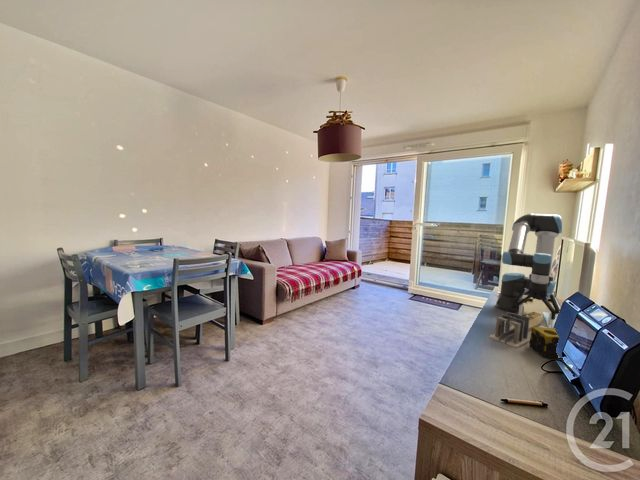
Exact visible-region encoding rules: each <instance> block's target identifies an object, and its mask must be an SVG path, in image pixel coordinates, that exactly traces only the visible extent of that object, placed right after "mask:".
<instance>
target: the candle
mask: <svg viewBox="0 0 640 480" xmlns="http://www.w3.org/2000/svg"><path fill="white" fill-rule="evenodd" d="M544 327H545V326H544ZM544 327H532V329H531V337H530V341H529V342H528V343H529V348H530V349H531V350H533V351H534V352H535V353H537V354H538V355H539V356H540V357H542V358H543V359H557V358H558V355H557V353H556V347H557V343H558V340H559V336H558V334H557V332H556V330H555V329H556V328H555V327H547V328H544Z"/></svg>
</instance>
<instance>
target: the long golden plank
mask: <svg viewBox="0 0 640 480" xmlns="http://www.w3.org/2000/svg"><path fill="white" fill-rule="evenodd" d="M543 315H544V314H542V313H538V312H536V311H531V312H529V313H527V314H524V315H522V316H523V317H527V318H530V321H529V328H531V327H533V326H535V325H537V324H539V323H541V324H542V322H543ZM517 319H518V318H517ZM520 320H521V319H520ZM524 324H525V321H524ZM513 326H514V327H515V325H513ZM523 330H524V328H523Z"/></svg>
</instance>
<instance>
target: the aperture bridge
mask: <svg viewBox="0 0 640 480" xmlns="http://www.w3.org/2000/svg"><path fill="white" fill-rule="evenodd" d="M495 321H496V322H495V332H494V334H495V336H496V337H499V336H500V331H501V322H502V321H504V322H505V323H506V321H508V319H505V318H502V317H501V316H498V317H496V320H495ZM509 323H510V325H512V326H514V325H515V332H514V340H513V343H515V344H517V343H518V342H519V334H520V326H521V323H518V322H515V321H511V320H510V321H509Z"/></svg>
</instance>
